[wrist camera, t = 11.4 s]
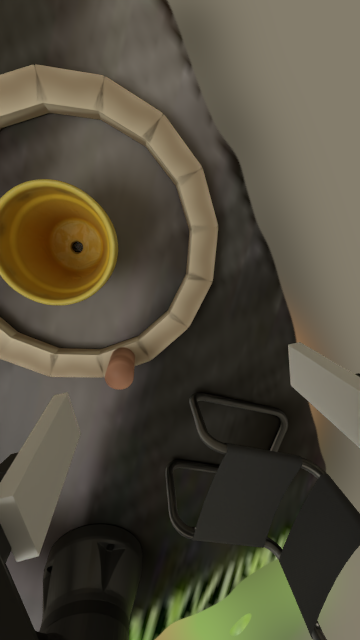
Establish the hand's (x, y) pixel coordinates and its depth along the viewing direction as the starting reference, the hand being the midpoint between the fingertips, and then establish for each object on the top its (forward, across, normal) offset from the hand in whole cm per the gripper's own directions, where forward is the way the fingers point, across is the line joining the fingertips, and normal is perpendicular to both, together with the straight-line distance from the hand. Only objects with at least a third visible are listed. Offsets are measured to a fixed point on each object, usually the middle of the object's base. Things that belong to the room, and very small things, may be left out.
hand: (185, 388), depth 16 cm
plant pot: (+20, +8, -10) cm, 24 cm away
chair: (+21, -6, +21) cm, 30 cm away
